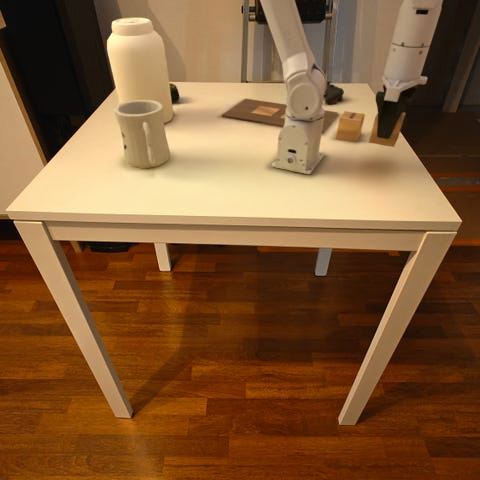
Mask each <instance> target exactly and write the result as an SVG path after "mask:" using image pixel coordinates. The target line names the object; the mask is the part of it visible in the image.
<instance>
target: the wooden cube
mask: <svg viewBox="0 0 480 480" xmlns="http://www.w3.org/2000/svg"><path fill="white" fill-rule="evenodd" d="M365 116H366V114H365V113H359V112H353V111H346V110H345V111H344V112H343V113H341V115H340V117H339V119H338V125H337V130H336V136H335V139H336V140H340V141H347V142H353V143H357V141H358V139H359V138H360V136H361V133H362V131H363V125H364V122H365V121H364V120H365V118H366V117H365Z"/></svg>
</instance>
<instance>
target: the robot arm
mask: <svg viewBox="0 0 480 480" xmlns="http://www.w3.org/2000/svg"><path fill="white" fill-rule="evenodd" d="M259 1H260V4H261V7H262V10H263V13H264V16H265V19H266V22H267V25H268V28H269V30H270V33H271V36H272V39H273V41H274V45H275V47H276V50H277V52H278V56H279V59H280V61H281V65H282V77H283V83H284V85H285V88H286V99H285V102H286V104H285V105H287V109H286V114H285V124H284V127H281V130H280V131H279V133H278V137H277V153H276V159H275V160H274V161H273V162H272V164H271V167H272V168H277V169H280V170H281V169H282V170H287V171H292V172H295V173H300V174H305V175H310V174H312V173H313V171H314V169H315V168H316V167H317V166H318V164H319V163H320V162H321V160H322V159H323V158H324V157H325V153H324V152H320V147H321V141H322V134H323V132H322V128H323V121H324V114H325V111H326V110H325V109H324V107H323V104H324V96H325V95H326V94H325V92H326V89H327V81H328V79H327V76H326V74H325V72H324V71H323V70H322V69H321V68H320V67H319V65H318V64H317V62H316V58H315V56H314V54H313V52H312V50H311V48H310V46H309V43H308V40H307V36H306V33H305V30H304V26H303V23H302V19H301V16H300V14H299V10H298V7H297V3H296V0H259ZM443 1H444V0H403V1H402V4H400V7H399V11H398V15H397V19H396V23H395V28H394V31H393V35H392V39H391V42H390V47H389V51H388V54H387V55H388V56H387V59H386V64H385V66H384V70H383V71H384V72H383V73H382V74H381V80H380V81H382V84H383V85H382V88H383V89H382V90H383V91H380V90H379V91H377V92H376V94H375V103H376V108H377V114H378V124H377V137H379V138H385V139H389V138H390V136H391V134H392V132H393V130H394V128H395V126H396V123H397V121H398V119H399V117H400V115H401V114H402V112H403V113H404V111H405V110H406V108H407V107H408V106H410V103H411V102H412V100H413V97H412V96H413V95H414V94H415V92H417V90H418V87H419V85H426V84H427V81H428V77H427V76H424V75H423V76H422V72H423V69H424V66H425V62H426V59H427V57H428V53H429V50H430V47H431V44H432V40H433V37H434V35H435V31H436V28H437V24H438V22H439V18H440V15H441V12H442V5H443ZM324 110H325V111H324Z"/></svg>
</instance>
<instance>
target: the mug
mask: <svg viewBox="0 0 480 480" xmlns="http://www.w3.org/2000/svg"><path fill="white" fill-rule="evenodd" d="M114 114H115V117H116V120H117V123H118V125H119V129H120V134H121V138H122V143H123V152H124V158H125V159H124V160H125V161H126V162H127V164H129V165H130V166H132V167H135V168H141V169H143V168H147V169H148V168H155V167H159V166H161V165H163V164H166V162H168V161H169V159H170V158H171V151H170V146H169V141H168V139H167V135H166V129H165V123H164V117H163V106H162V104H161V103H159V102H157V101H153V100H134V101H128V102H125V103H122V104H118V105H117V106H116V107H115V108H114Z"/></svg>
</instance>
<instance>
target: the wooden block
mask: <svg viewBox="0 0 480 480" xmlns="http://www.w3.org/2000/svg"><path fill="white" fill-rule="evenodd" d="M406 114H407V113H406V112H404V111H403V112H402V114H401V115H400V117H399V119H398V121H397V123H396V126H395V128H394V130H393V132H392V134H391V136H390V138H389V139H385V138H379V137H377V124H378V113H376V115H375V117H374V121H373V125H372V129H371V132H370V136H369V142H368V143H370V144H374V145H379V146H380V145H381V146H386V147H390V148H395V146H396V143H397V142H398V140H399V137H400V134H401V130H402V127H403V123H404V120H405V117H406Z"/></svg>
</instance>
